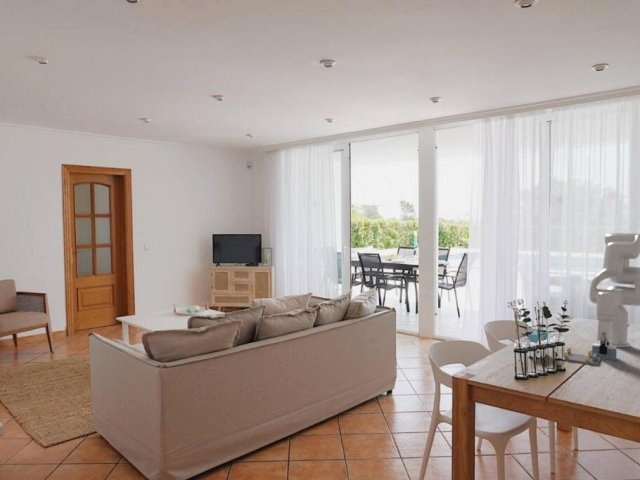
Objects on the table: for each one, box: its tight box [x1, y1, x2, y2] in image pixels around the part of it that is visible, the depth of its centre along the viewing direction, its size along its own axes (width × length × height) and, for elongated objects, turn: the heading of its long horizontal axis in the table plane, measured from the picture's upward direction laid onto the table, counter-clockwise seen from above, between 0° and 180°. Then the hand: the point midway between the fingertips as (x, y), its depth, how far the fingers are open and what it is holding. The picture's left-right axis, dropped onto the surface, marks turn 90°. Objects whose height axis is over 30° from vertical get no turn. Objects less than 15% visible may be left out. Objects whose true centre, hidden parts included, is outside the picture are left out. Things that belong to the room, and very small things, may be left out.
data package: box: [528, 330, 548, 354], centre depth 234 cm, size 12×4×12 cm, turn 133°
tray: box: [564, 346, 602, 367], centre depth 228 cm, size 12×18×4 cm, turn 54°
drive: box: [591, 342, 618, 361], centre depth 231 cm, size 4×10×6 cm, turn 54°
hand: (604, 351), depth 230 cm, fingers open, 9 cm apart
